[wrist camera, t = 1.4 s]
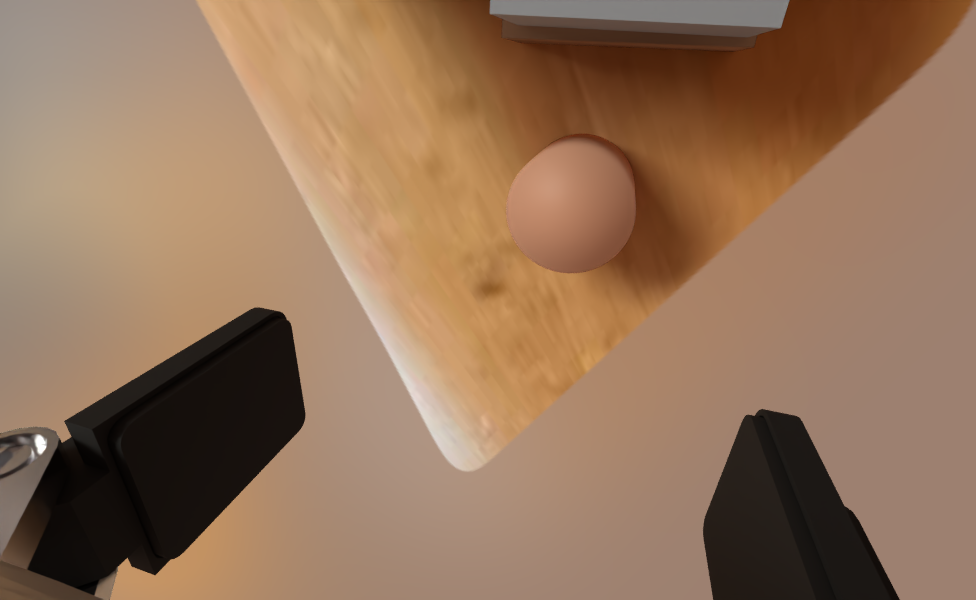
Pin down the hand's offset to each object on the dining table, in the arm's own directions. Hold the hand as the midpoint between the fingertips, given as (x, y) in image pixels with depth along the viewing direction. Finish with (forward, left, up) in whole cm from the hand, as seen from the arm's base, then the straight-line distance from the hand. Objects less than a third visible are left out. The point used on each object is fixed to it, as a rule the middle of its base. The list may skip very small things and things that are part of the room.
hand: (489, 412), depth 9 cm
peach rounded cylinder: (0, 0, -19) cm, 19 cm away
